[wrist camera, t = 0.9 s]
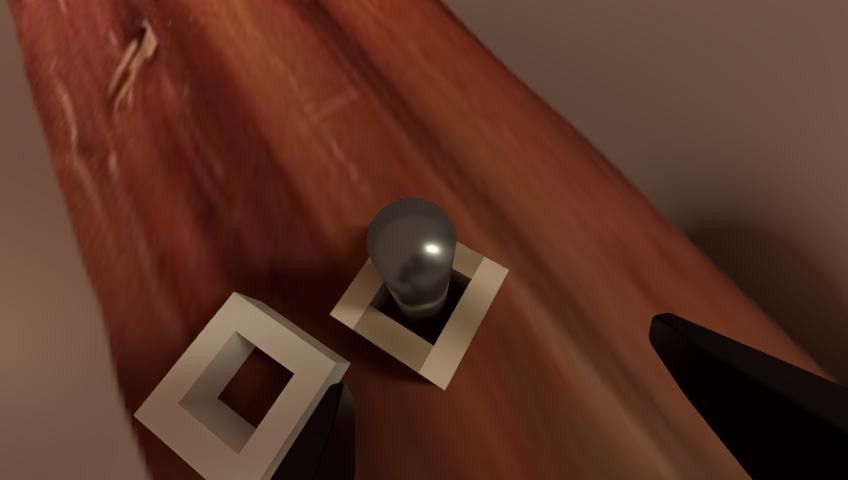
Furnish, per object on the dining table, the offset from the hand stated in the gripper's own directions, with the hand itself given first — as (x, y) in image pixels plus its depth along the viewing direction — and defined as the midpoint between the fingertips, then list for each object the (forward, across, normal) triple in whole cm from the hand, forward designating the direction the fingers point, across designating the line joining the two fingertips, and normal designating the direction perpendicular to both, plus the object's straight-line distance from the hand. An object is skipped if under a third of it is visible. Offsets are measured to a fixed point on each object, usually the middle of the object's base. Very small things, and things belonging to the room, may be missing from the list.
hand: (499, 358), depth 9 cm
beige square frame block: (+12, +2, +7) cm, 14 cm away
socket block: (+9, +14, +9) cm, 19 cm away
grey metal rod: (+12, +2, +7) cm, 14 cm away
